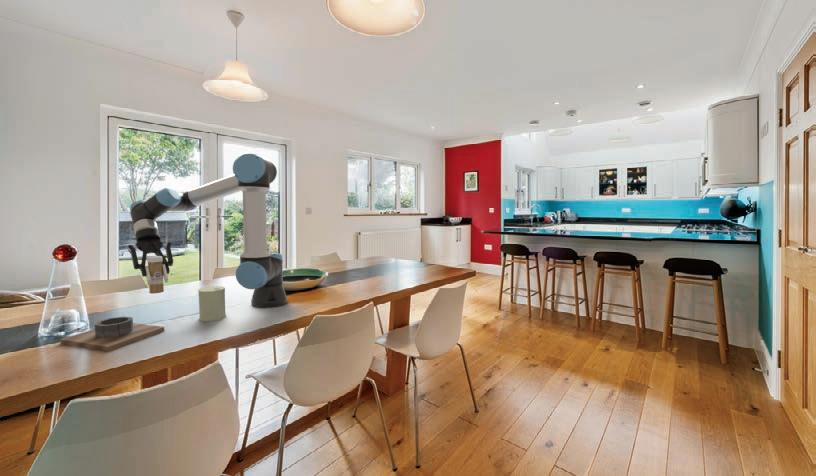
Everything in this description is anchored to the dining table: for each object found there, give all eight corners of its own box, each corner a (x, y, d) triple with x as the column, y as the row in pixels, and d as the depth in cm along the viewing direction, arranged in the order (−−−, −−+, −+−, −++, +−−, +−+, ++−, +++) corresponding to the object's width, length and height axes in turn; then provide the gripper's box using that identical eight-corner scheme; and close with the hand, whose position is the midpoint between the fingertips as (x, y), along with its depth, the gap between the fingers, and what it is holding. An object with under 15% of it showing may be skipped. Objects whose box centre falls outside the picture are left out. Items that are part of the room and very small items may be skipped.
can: (214, 322, 130) (213, 291, 129) (193, 320, 132) (192, 289, 131) (231, 314, 139) (230, 285, 138) (211, 313, 141) (210, 284, 140)
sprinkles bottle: (154, 294, 124) (152, 257, 123) (146, 293, 126) (143, 256, 125) (167, 291, 129) (165, 256, 127) (159, 290, 130) (157, 255, 129)
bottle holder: (164, 331, 120) (163, 315, 119) (107, 351, 103) (106, 333, 102) (121, 325, 125) (120, 310, 124) (60, 344, 108) (59, 326, 107)
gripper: (172, 238, 143) (184, 283, 132) (117, 241, 130) (126, 291, 120) (174, 226, 138) (187, 272, 128) (118, 227, 126) (127, 278, 116)
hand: (158, 281), depth 124 cm, fingers closed on sprinkles bottle, 4 cm apart
